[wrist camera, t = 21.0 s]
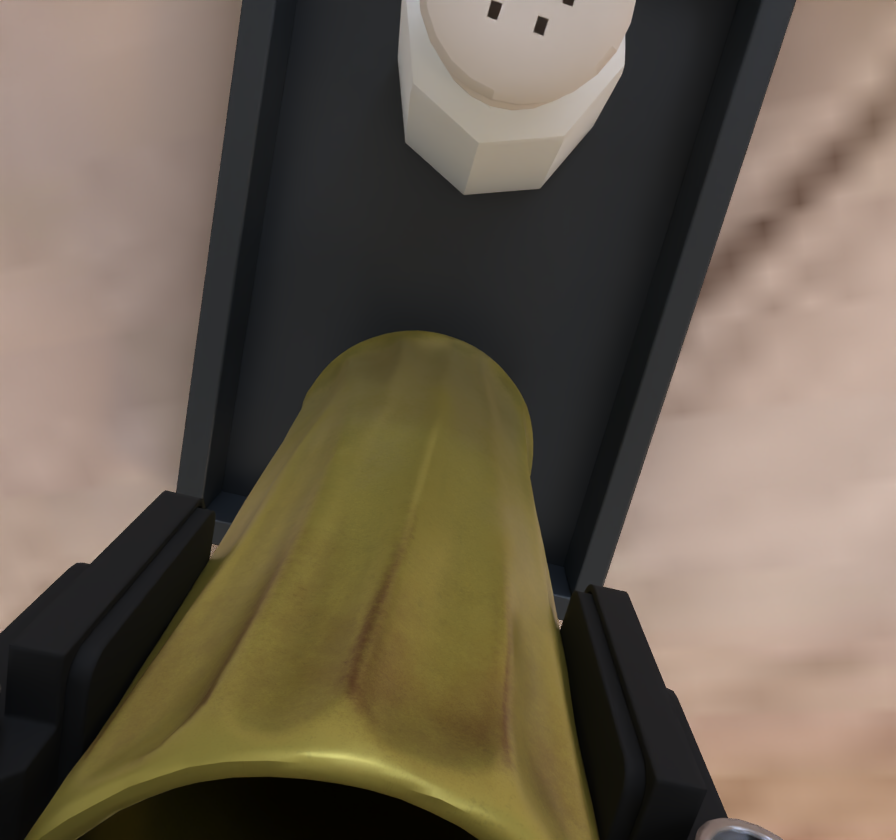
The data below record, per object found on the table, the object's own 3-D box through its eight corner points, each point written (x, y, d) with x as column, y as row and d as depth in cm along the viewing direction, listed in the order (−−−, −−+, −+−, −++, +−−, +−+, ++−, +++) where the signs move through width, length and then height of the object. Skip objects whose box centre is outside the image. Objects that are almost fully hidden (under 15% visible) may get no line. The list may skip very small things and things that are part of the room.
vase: (310, 554, 20) (-2, 1274, 7) (286, 332, 19) (-193, 704, 5) (533, 548, 20) (673, 1276, 7) (530, 323, 19) (715, 684, 5)
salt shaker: (369, 162, 20) (266, 131, 10) (429, -54, 19) (383, -364, 8) (556, 226, 21) (648, 260, 10) (630, 19, 19) (827, -189, 9)
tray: (296, -170, 19) (271, -223, 16) (778, -43, 19) (822, -76, 17) (198, 501, 24) (169, 535, 22) (578, 585, 25) (590, 627, 22)
